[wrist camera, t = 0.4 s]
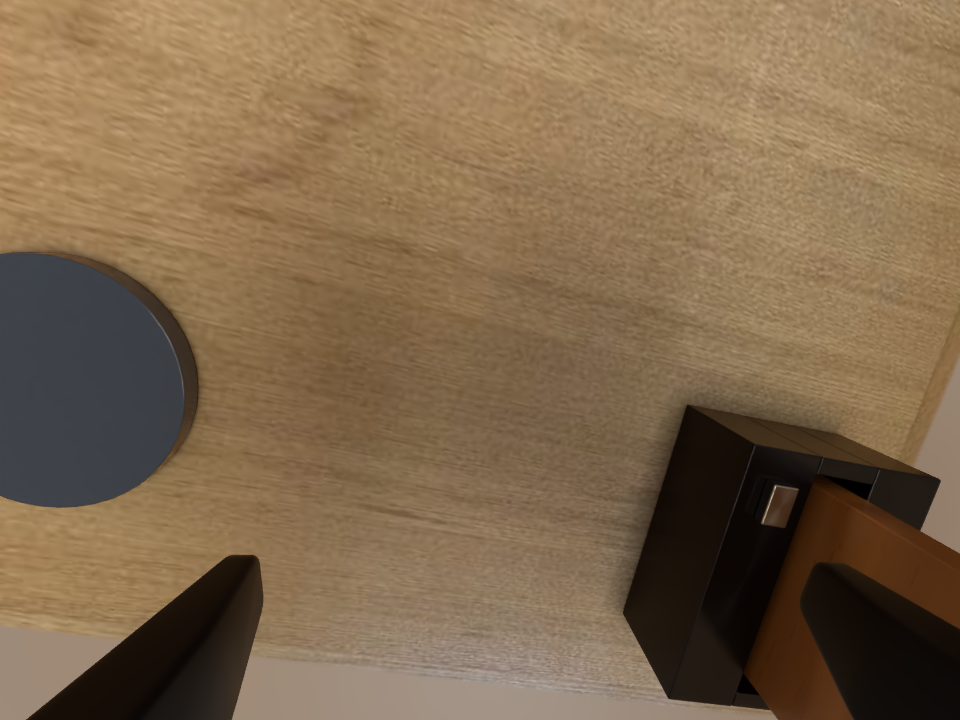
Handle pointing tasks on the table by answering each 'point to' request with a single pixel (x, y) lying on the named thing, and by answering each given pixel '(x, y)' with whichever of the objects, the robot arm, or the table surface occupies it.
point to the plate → (86, 381)
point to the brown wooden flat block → (865, 547)
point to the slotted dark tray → (740, 540)
